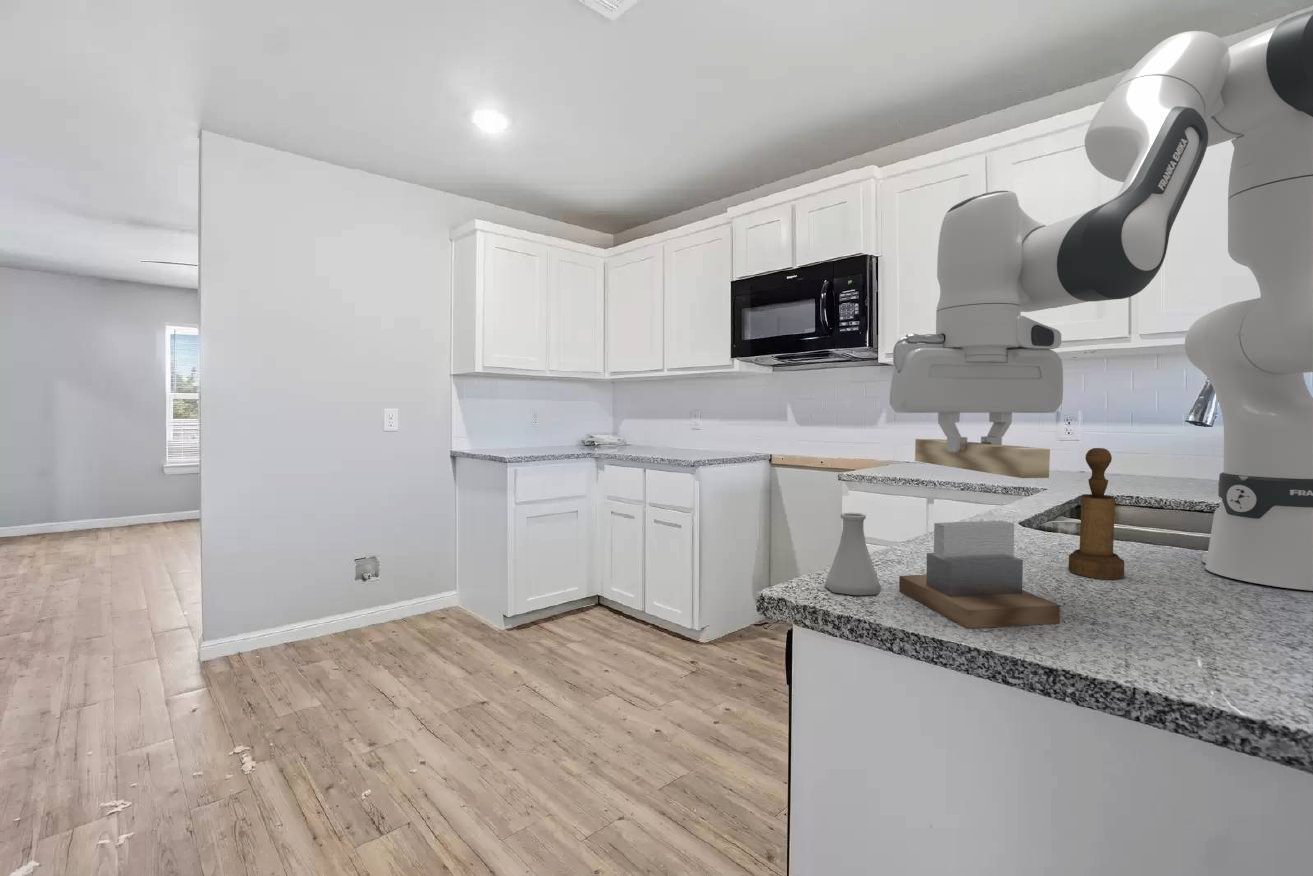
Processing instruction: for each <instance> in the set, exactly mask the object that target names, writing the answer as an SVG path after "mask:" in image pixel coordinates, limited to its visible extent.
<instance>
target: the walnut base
mask: <svg viewBox="0 0 1313 876" xmlns="http://www.w3.org/2000/svg"><path fill="white" fill-rule="evenodd" d="M926 577H927V574H911V575H910V574H909V575H899V581H898V582H899V586H898V588H899V590H898V591H899V592H901V593H902V594H904V595H906V596H907V597H909V598H912V599H913V600H915V601H916V602H919V603H920V604H922V605H924V606H926V607H928V608H930V609H931V610H934V611H936V612H937V613H939V614H941V615H943V616H944V617H946V618H948V619H950V620H952V621H954V622H955V623H957V624H959V625H961V626H963V627H965V628H966V629H979V628H980V629H981V628H982V629H983V628H985V629H986V628H999V627H1014V626H1015V627H1016V626H1032V625H1034V626H1035V625H1047V624H1048V625H1050V624H1060V623H1061V604H1059V603H1056V602H1054V601H1051V600H1049V599H1045V598H1043V597H1041V596H1038V595H1036V594H1033V593H1030V592H1028V591H1026V590H1023V589H1022V594H1004V595H985V596H966V597H950V596H948V595H946V594H943V593H941V592H939V591H937V590H935V589H933V588H931V587H929V586H927V585H926Z"/></svg>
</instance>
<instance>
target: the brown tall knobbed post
mask: <svg viewBox="0 0 1313 876" xmlns="http://www.w3.org/2000/svg"><path fill="white" fill-rule="evenodd" d="M1112 457H1113V456H1112V454H1111V453H1110V450H1108V449H1107V448H1104V447H1094V448H1090V449H1089V450H1088V451H1087V452H1086V453H1085V462H1086V463H1087V466H1088V467H1089V468H1090V470H1091V477H1090V478H1089V479H1088V481H1087V482H1088V486H1089V489H1090V492H1091V494H1081V496H1080V527H1079V528H1080V531H1079V533H1080V534H1079V549H1078V548H1077V549H1075V550H1074V551H1073V552H1071V553H1070V554H1069V555H1068V565H1067V566H1068V571H1069V572H1070V573H1073V574H1076V575H1077V576H1078V575H1079V576H1082V577H1087V578H1093V579H1099V580H1100V579H1101V580H1119V579H1124V577H1125V560H1124V559H1123V558H1121V557H1120V556H1119V555H1118V554H1117V553H1115V552H1114V542H1115V541H1114V536H1115V535H1114V534H1115V533H1114V532H1115V511H1116V497H1115V496H1110V495H1105V493H1106V490H1107V488H1108V484H1109V480H1108V479H1107V478H1106V477H1105V473H1106V470H1107V468H1108V467H1109V466H1110V465H1111V463H1112V460H1113V459H1112Z"/></svg>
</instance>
